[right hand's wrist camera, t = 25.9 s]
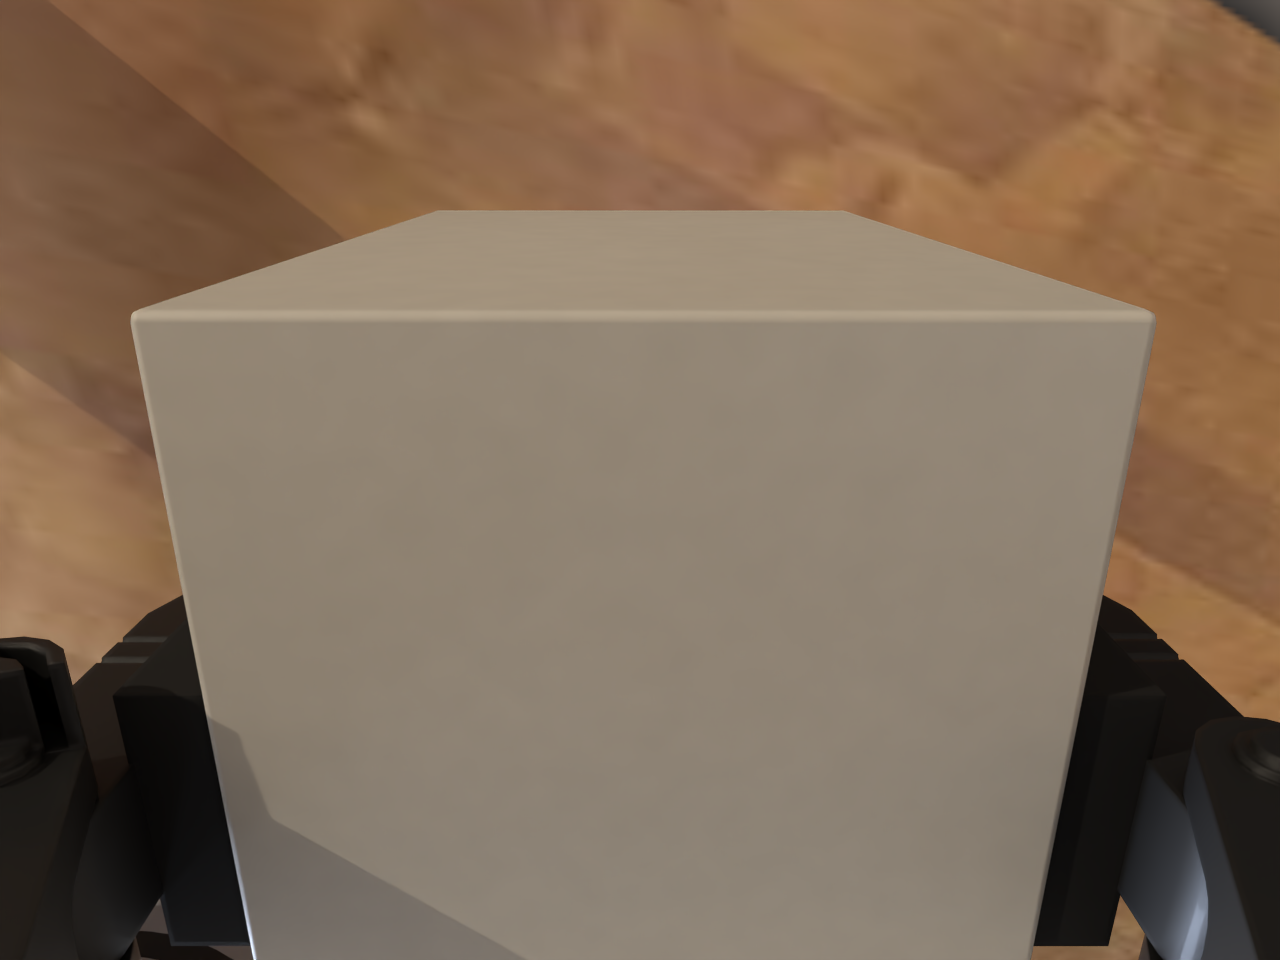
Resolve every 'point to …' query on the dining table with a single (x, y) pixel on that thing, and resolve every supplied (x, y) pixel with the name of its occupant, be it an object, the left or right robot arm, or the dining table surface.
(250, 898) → the block
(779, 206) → the dining table surface
